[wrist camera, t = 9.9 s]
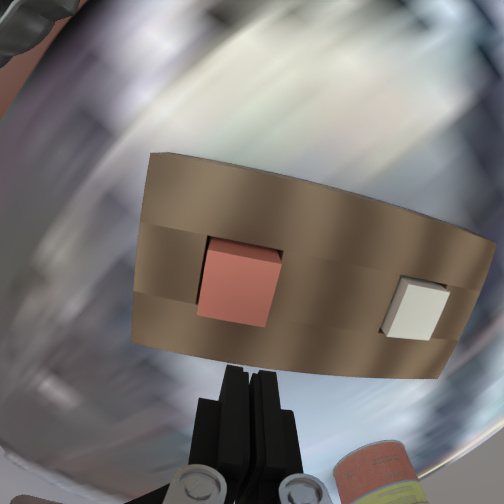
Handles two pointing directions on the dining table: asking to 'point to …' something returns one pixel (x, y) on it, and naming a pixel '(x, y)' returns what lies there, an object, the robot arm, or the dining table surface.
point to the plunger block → (297, 271)
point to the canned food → (378, 476)
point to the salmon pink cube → (238, 282)
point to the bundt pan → (29, 23)
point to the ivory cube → (414, 309)
